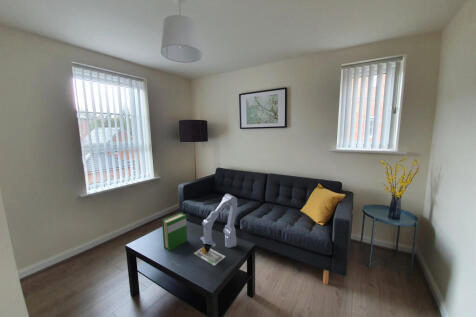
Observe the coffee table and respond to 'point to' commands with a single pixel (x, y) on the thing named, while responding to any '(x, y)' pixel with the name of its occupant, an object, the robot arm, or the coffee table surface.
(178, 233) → the hardback book
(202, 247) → the lever
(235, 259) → the coffee table surface
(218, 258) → the white flat tray
